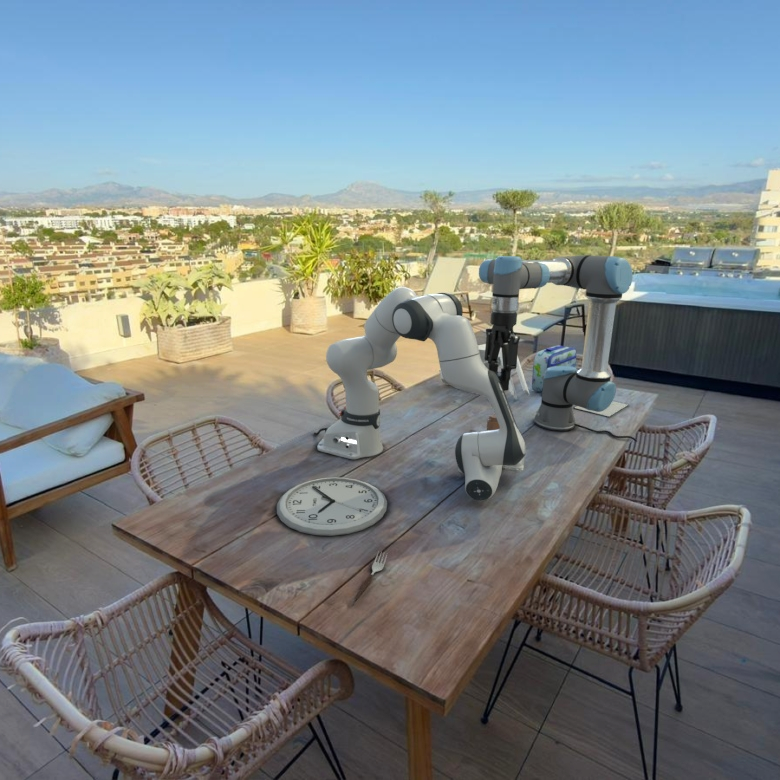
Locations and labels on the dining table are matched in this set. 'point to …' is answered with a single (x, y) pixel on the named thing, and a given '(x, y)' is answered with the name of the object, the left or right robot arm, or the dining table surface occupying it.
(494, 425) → the bottle
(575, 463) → the dining table surface
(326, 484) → the wall clock
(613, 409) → the invitation card
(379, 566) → the fork
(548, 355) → the lunch box
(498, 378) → the lid
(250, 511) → the dining table surface
